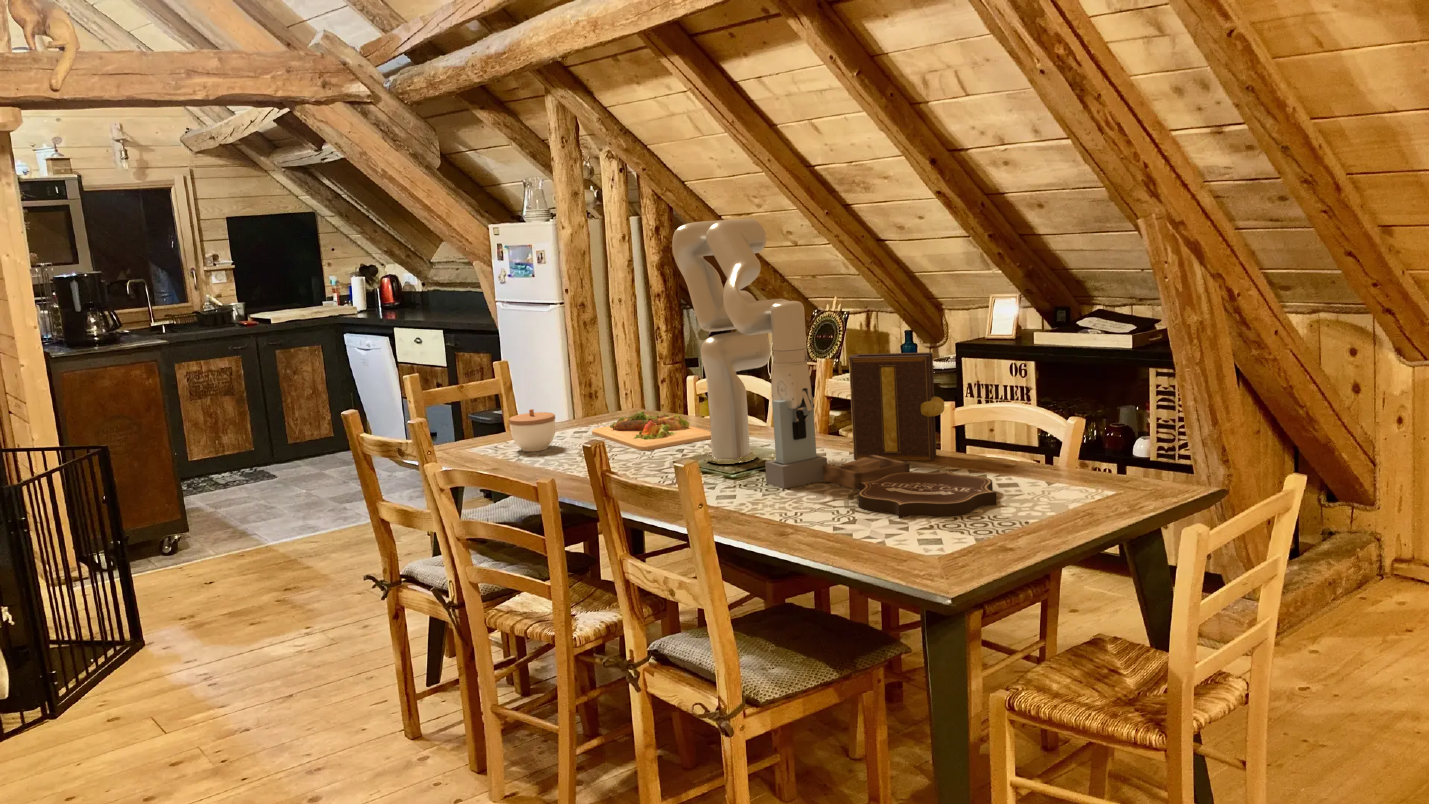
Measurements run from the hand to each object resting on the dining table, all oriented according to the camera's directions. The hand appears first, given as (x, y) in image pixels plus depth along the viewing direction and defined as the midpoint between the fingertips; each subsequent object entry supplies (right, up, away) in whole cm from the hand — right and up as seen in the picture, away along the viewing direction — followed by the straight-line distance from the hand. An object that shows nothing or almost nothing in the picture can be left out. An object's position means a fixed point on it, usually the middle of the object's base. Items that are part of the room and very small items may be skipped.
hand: (795, 437), depth 262 cm
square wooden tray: (+16, -9, -1) cm, 19 cm away
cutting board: (-36, -2, +67) cm, 76 cm away
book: (+26, -6, +18) cm, 33 cm away
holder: (+1, -10, +2) cm, 10 cm away
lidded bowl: (-68, -5, +60) cm, 90 cm away
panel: (0, -5, +1) cm, 5 cm away
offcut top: (+15, -8, 0) cm, 17 cm away
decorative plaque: (+26, -13, -21) cm, 36 cm away
